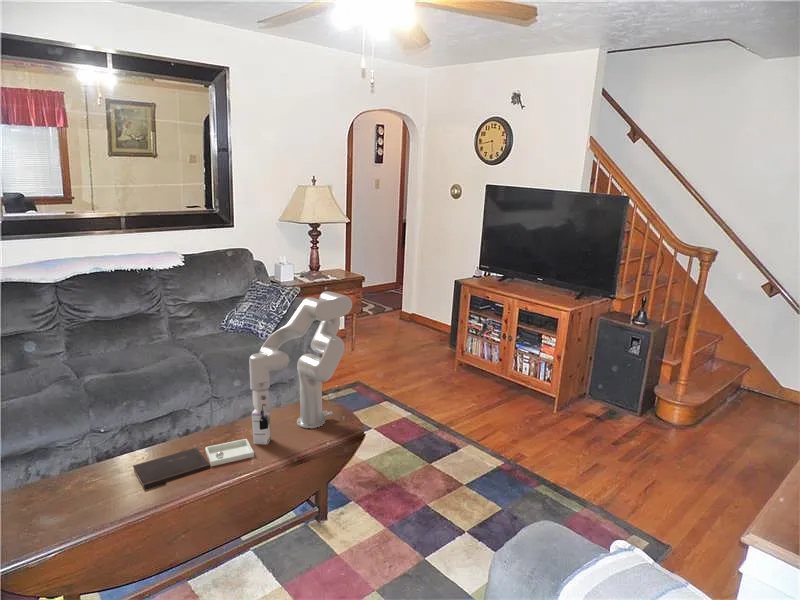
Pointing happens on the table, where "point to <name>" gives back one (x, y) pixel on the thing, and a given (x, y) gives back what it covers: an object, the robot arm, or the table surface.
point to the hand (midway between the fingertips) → (261, 424)
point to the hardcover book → (170, 467)
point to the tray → (229, 452)
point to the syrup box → (258, 434)
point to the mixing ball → (219, 455)
